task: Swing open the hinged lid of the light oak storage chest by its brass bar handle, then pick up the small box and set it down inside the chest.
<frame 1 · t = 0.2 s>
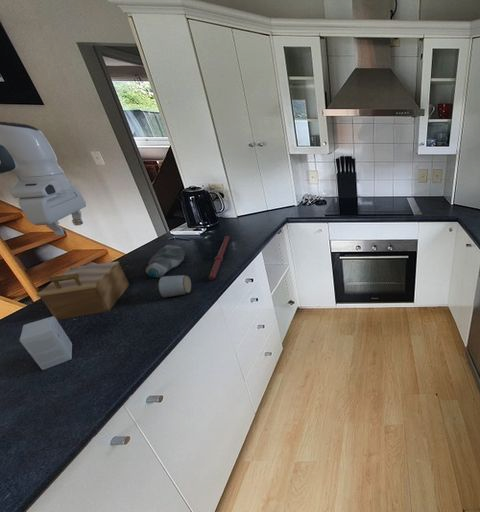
hand: (70, 229, 85), 28 cm above the worktop, tool pointing down, fingers open, 8 cm apart
detergent: (166, 268, 120), on the worktop
rolling pin: (221, 258, 130), on the worktop
grey cylinder: (179, 292, 104), on the worktop
small box: (58, 357, 75), on the worktop
lid: (79, 271, 92), point 12 cm above the worktop, hinge at 0.0°
chest: (96, 300, 98), on the worktop
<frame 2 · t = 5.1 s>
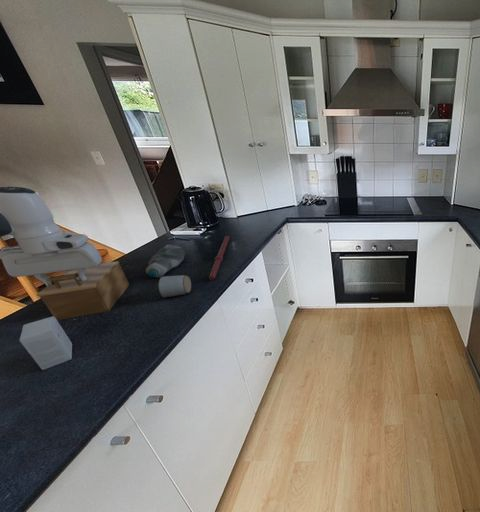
hand: (67, 282, 86), 12 cm above the worktop, tool pointing down, fingers closed on lid, 6 cm apart
lid: (79, 271, 92), point 12 cm above the worktop, hinge at 0.0°, touching gripper
everything else where it was.
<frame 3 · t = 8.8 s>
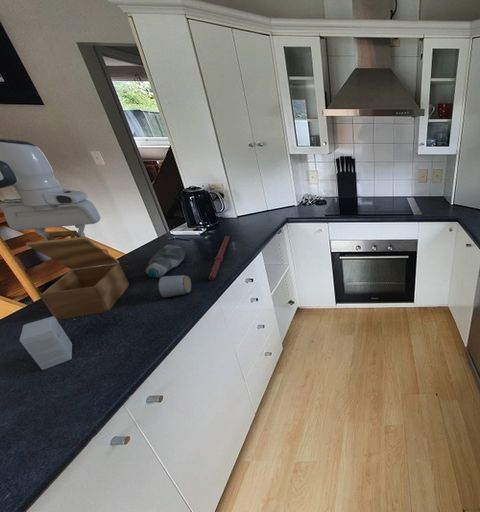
hand: (66, 239, 89), 23 cm above the worktop, tool pointing down, fingers closed on lid, 6 cm apart
lid: (78, 248, 93), point 19 cm above the worktop, hinge at 51.7°, touching gripper
everything else where it was.
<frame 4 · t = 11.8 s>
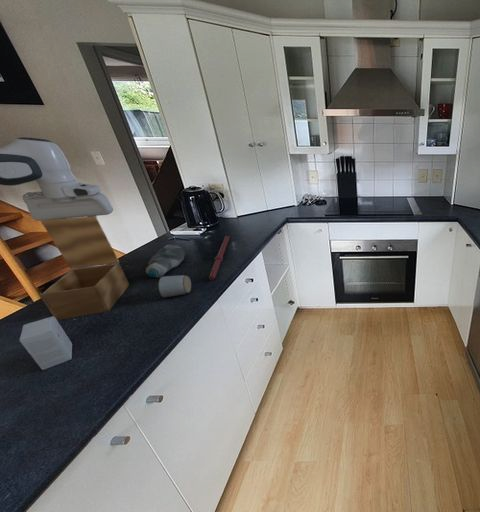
hand: (83, 229, 97), 24 cm above the worktop, tool pointing down, fingers open, 4 cm apart
lid: (85, 240, 98), point 20 cm above the worktop, hinge at 86.5°
everything else where it was.
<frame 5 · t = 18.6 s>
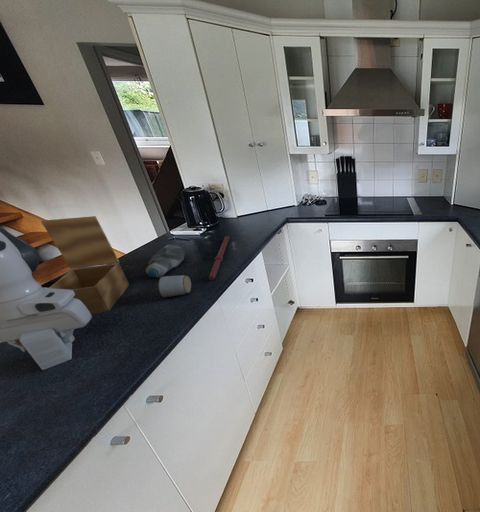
hand: (50, 345, 73), 4 cm above the worktop, tool pointing down, fingers closed on small box, 7 cm apart
small box: (58, 357, 75), on the worktop, touching gripper
everything else where it was.
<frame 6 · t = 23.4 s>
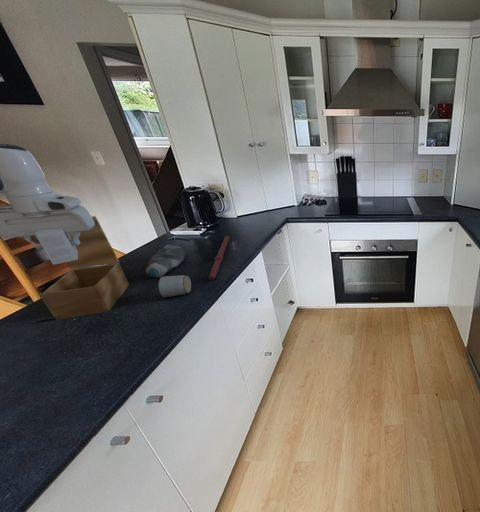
hand: (59, 246, 85), 23 cm above the worktop, tool pointing down, fingers closed on small box, 7 cm apart
small box: (66, 258, 87), point 18 cm above the worktop, touching gripper
everything else where it was.
when the fingers open (6 cm above the worktop, at t = 28.8 s): small box stays where it is, resting on chest.
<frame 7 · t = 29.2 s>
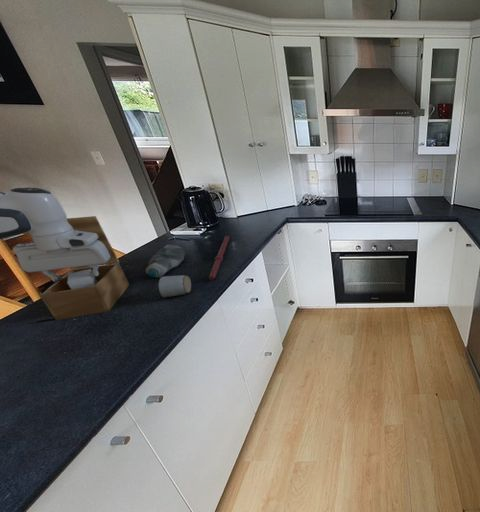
hand: (77, 278, 91), 11 cm above the worktop, tool pointing down, fingers open, 8 cm apart
small box: (94, 301, 97), point 1 cm above the worktop, touching chest, gripper
everything else where it was.
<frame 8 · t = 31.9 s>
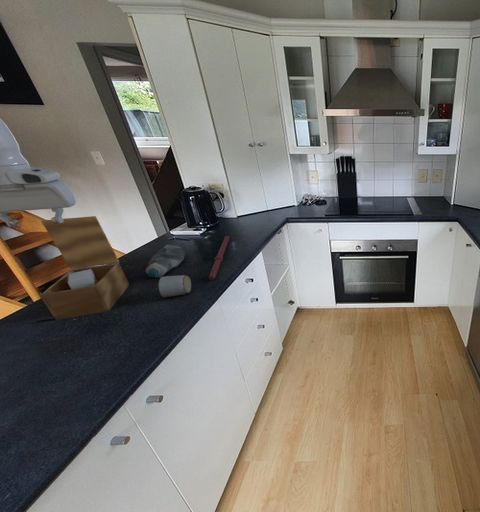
hand: (37, 224, 79), 31 cm above the worktop, tool pointing down, fingers open, 8 cm apart
small box: (94, 301, 97), point 1 cm above the worktop, touching chest
everything else where it was.
at the end: lid at +87° (first picture: +0°); small box inside the target area in the chest (1.1 cm from its centre), point 0.6 cm above the chest's base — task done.
